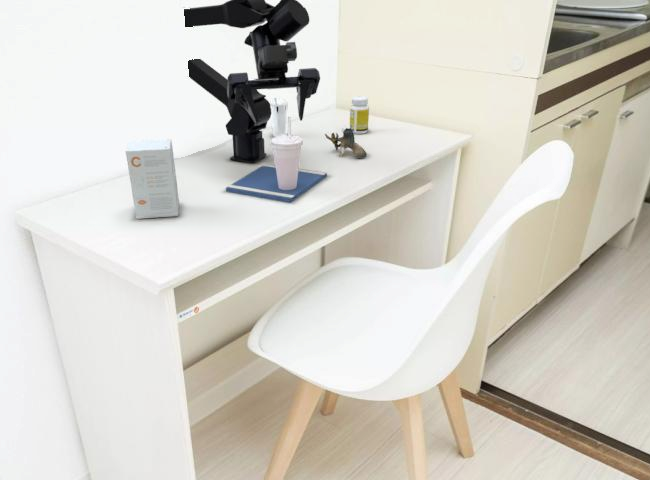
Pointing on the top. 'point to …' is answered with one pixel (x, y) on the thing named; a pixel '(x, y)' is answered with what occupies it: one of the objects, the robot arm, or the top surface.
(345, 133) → the eagle figurine
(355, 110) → the supplement bottle
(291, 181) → the smoothie
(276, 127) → the milkshake
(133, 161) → the small box
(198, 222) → the top surface
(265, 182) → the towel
